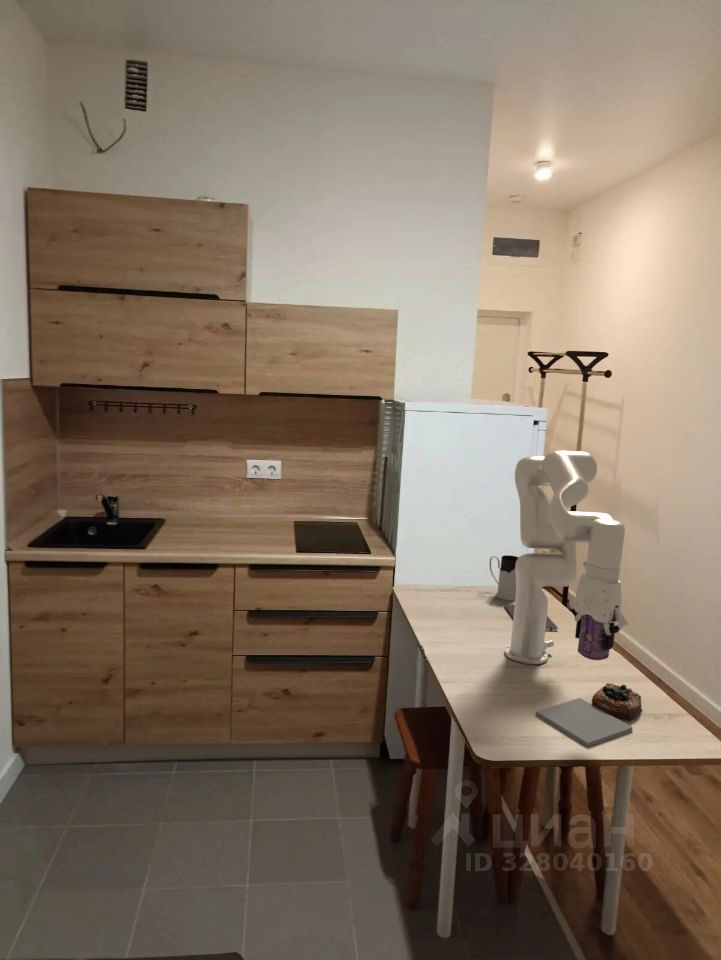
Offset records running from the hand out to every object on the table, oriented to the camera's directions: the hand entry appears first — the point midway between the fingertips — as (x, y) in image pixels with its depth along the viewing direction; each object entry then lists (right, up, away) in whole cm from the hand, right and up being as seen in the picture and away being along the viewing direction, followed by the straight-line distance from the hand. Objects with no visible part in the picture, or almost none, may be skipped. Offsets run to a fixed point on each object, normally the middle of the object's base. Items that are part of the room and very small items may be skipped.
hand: (593, 642), depth 162 cm
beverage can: (0, -4, +1) cm, 4 cm away
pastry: (+10, -20, +12) cm, 26 cm away
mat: (-1, -20, +3) cm, 21 cm away
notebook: (+3, -10, +73) cm, 74 cm away
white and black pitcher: (-2, -5, +97) cm, 97 cm away
